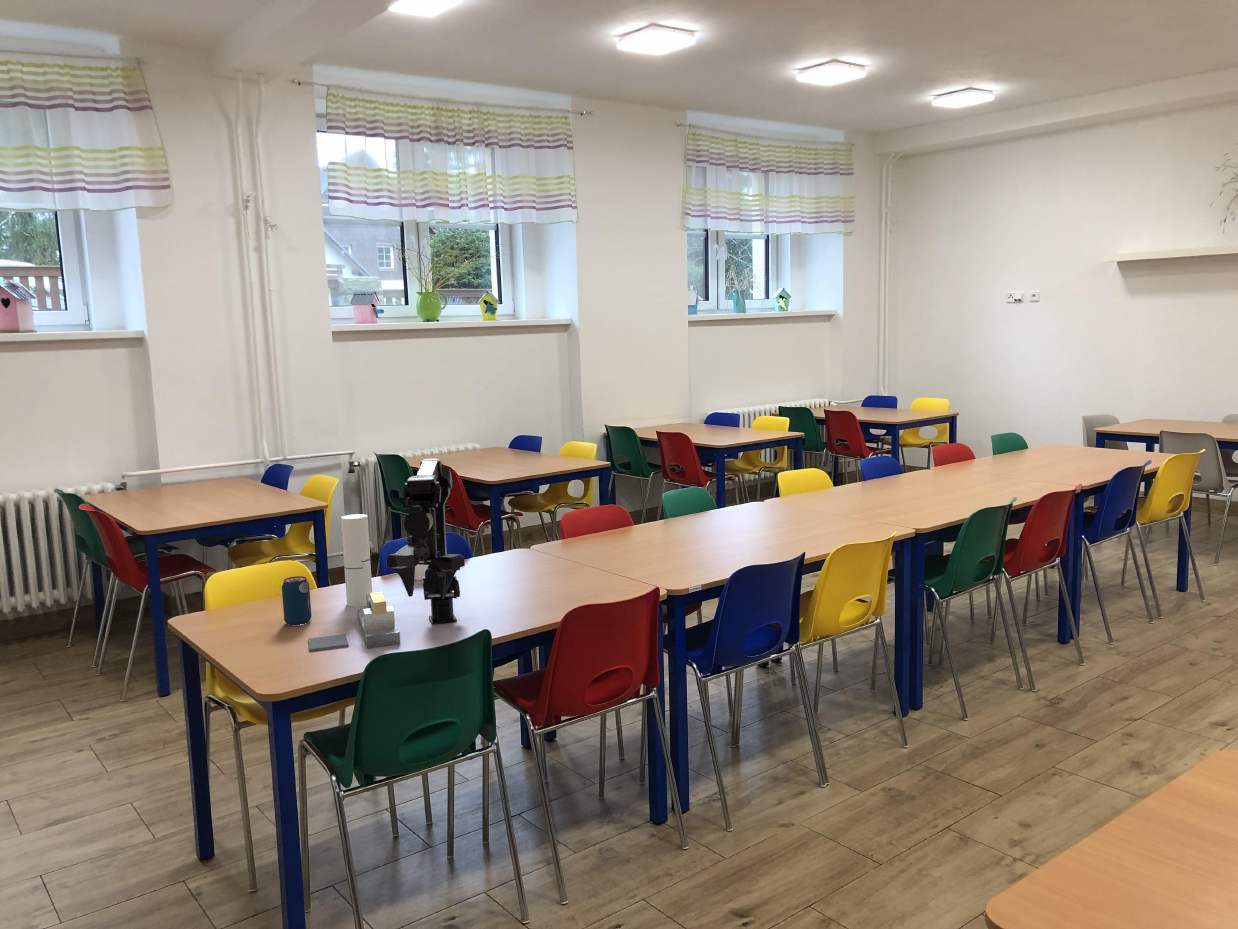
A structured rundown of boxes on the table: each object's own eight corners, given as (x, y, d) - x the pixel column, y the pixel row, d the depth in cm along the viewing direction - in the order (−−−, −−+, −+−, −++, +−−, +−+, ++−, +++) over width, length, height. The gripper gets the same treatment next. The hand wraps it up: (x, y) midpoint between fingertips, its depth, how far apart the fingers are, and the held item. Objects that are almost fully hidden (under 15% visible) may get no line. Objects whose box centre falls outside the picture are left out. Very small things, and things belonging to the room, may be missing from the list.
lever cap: (364, 624, 240) (363, 609, 240) (392, 621, 243) (391, 605, 242) (366, 630, 236) (365, 614, 235) (395, 626, 238) (394, 610, 237)
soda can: (316, 622, 254) (313, 578, 252) (292, 628, 249) (288, 583, 247) (304, 617, 259) (301, 574, 257) (279, 623, 254) (276, 579, 252)
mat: (308, 640, 238) (308, 638, 238) (345, 636, 241) (345, 633, 241) (309, 651, 230) (309, 649, 230) (348, 646, 233) (348, 644, 233)
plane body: (357, 619, 255) (356, 594, 254) (388, 616, 258) (386, 590, 257) (366, 648, 231) (365, 620, 230) (400, 644, 233) (398, 616, 232)
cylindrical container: (377, 602, 272) (372, 515, 268) (355, 608, 266) (349, 519, 263) (364, 598, 276) (358, 513, 273) (342, 603, 271) (336, 517, 268)
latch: (370, 604, 243) (369, 592, 242) (382, 603, 244) (381, 591, 243) (374, 614, 233) (373, 602, 233) (386, 613, 234) (386, 601, 234)
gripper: (369, 534, 220) (372, 601, 221) (435, 536, 212) (438, 606, 213) (399, 528, 230) (402, 593, 231) (464, 530, 222) (467, 597, 223)
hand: (426, 597), depth 224 cm, fingers open, 9 cm apart
